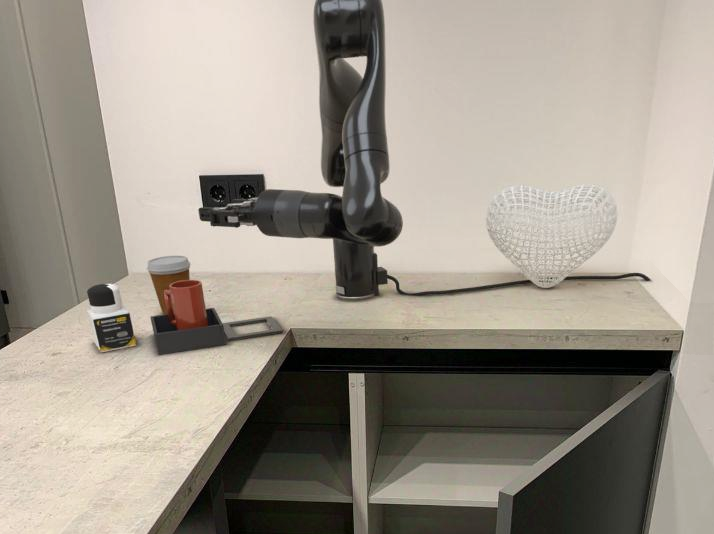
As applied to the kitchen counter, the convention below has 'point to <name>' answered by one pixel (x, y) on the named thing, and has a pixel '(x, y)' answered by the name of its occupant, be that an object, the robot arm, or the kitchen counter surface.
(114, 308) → the medicine bottle
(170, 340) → the grey square storage bin
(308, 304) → the kitchen counter surface
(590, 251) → the heart
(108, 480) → the kitchen counter surface
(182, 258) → the disposable coffee cup
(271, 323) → the hollow square frame
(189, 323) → the red mug
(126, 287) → the kitchen counter surface
